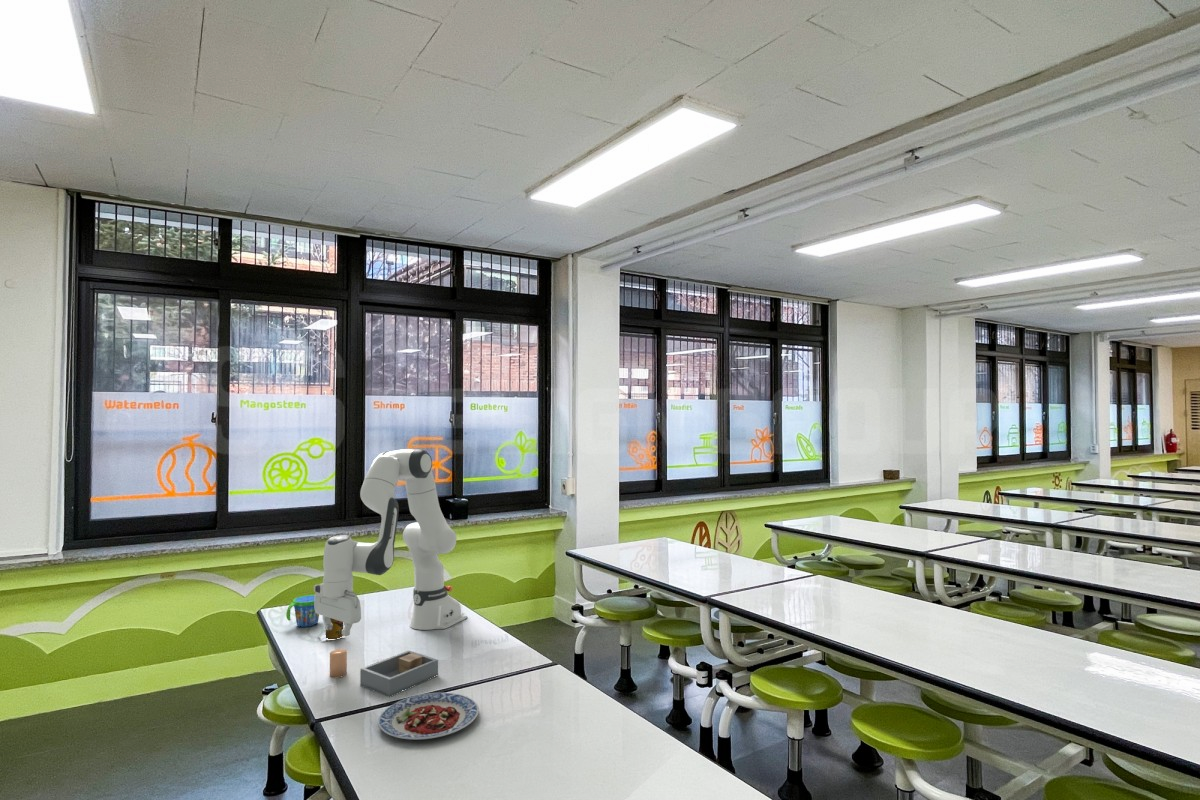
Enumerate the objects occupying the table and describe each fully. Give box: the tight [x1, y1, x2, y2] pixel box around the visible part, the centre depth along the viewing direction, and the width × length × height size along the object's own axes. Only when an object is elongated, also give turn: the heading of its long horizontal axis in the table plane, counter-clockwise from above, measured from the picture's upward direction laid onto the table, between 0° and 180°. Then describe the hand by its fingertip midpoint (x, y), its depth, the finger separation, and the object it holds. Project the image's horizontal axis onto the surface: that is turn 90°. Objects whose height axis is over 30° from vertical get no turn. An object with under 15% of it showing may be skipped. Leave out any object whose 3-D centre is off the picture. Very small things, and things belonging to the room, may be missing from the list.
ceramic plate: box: [378, 692, 480, 740], centre depth 171 cm, size 26×26×3 cm
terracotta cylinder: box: [329, 648, 348, 679], centre depth 202 cm, size 5×5×7 cm
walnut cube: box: [399, 653, 422, 674], centre depth 201 cm, size 5×5×5 cm
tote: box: [359, 650, 439, 698], centre depth 197 cm, size 18×14×5 cm
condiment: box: [325, 618, 344, 639], centre depth 235 cm, size 7×8×12 cm
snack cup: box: [285, 594, 320, 628], centre depth 250 cm, size 16×10×10 cm
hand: (337, 632), depth 202 cm, fingers open, 8 cm apart
